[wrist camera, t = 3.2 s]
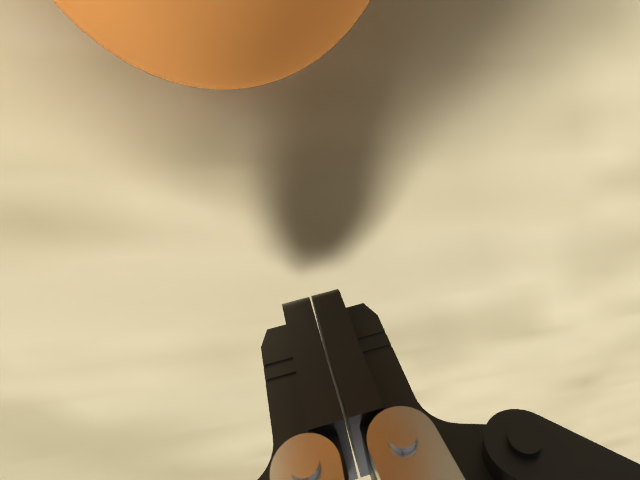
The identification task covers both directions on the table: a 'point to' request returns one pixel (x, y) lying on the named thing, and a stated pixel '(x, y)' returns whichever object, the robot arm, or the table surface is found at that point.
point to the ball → (216, 36)
